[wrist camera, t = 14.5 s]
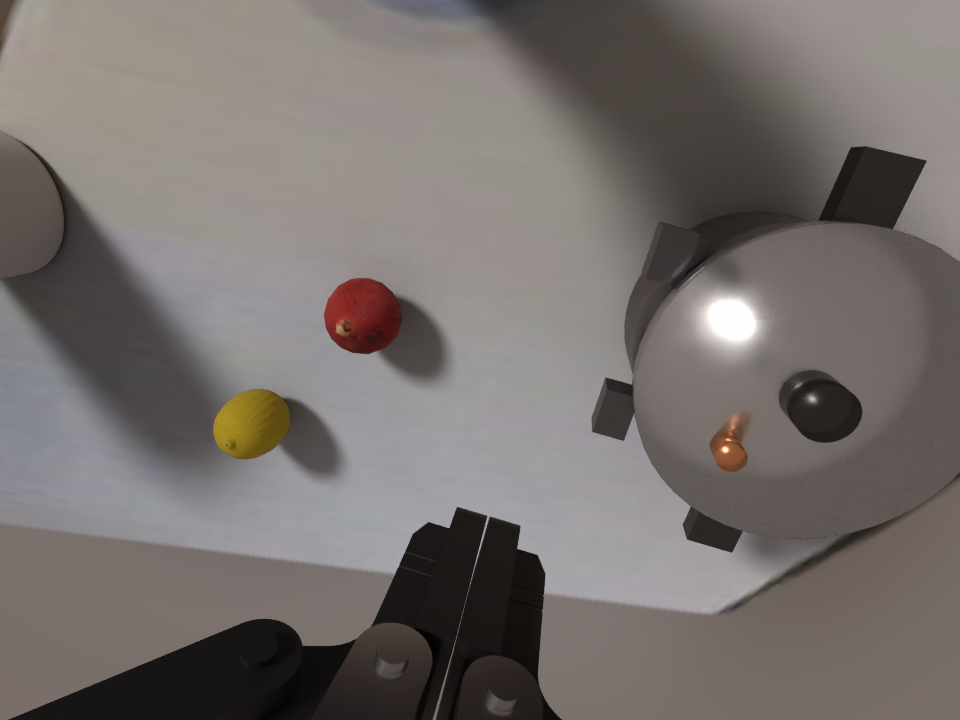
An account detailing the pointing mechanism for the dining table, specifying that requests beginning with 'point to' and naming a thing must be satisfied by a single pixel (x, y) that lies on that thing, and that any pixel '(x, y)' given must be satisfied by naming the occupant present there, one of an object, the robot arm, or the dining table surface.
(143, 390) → the dining table surface
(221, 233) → the dining table surface
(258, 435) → the lemon
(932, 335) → the cooker lid
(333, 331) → the pomegranate
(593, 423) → the cooker pot
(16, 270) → the cylinder vase
